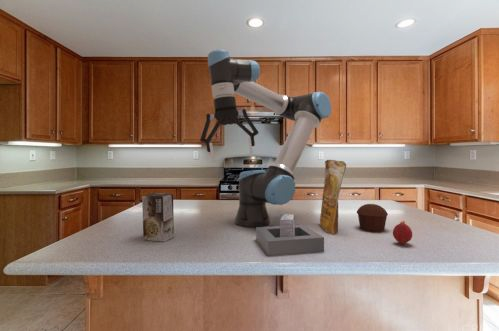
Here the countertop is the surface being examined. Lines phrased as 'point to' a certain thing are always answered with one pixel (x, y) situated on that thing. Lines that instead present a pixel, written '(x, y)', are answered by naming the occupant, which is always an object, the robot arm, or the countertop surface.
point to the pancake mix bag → (331, 195)
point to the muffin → (372, 217)
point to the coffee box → (158, 217)
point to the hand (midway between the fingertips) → (232, 158)
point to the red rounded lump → (402, 233)
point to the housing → (289, 241)
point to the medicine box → (287, 225)
